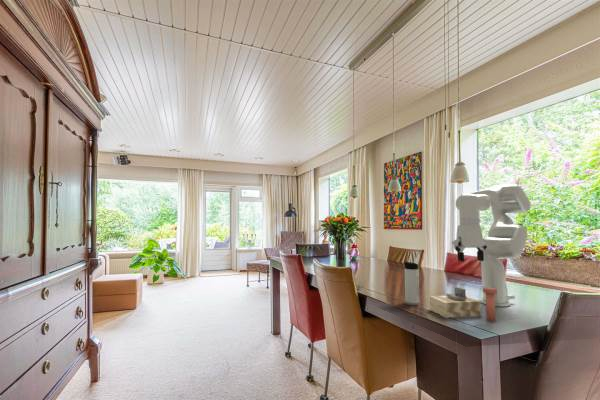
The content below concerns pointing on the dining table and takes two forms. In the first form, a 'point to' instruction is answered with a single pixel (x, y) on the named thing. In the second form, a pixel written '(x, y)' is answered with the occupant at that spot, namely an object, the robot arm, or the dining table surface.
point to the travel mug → (411, 283)
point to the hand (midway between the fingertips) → (470, 260)
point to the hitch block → (455, 307)
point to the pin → (490, 303)
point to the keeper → (458, 294)
